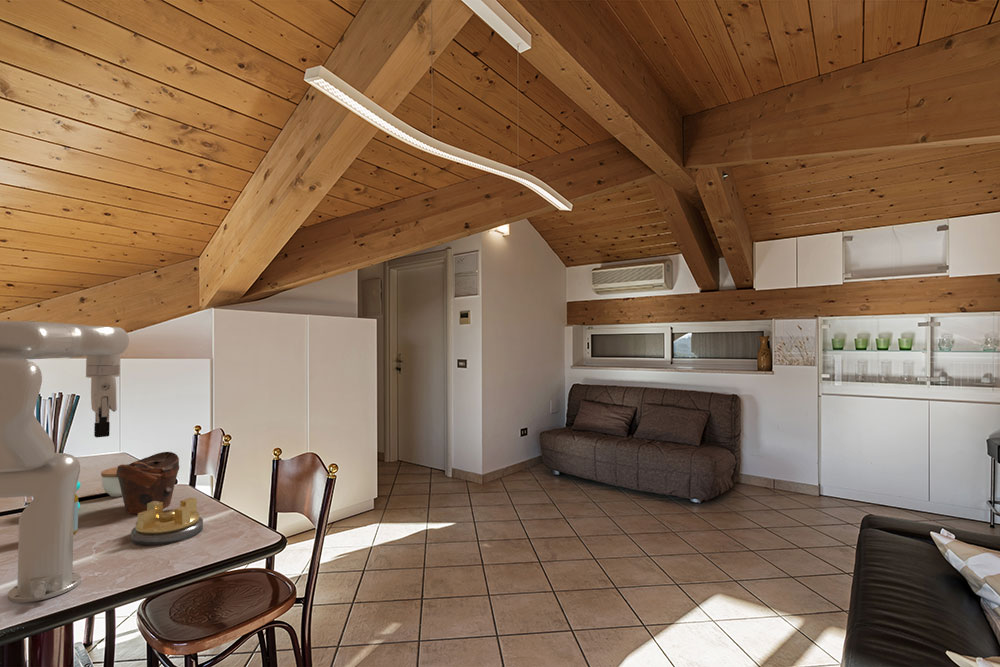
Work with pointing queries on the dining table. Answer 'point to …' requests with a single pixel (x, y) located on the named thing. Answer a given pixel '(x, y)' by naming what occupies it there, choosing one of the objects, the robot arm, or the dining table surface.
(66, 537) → the robot arm
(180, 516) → the gold crown turntable
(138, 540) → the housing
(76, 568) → the dining table surface
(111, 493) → the lidded bowl
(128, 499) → the brown chunky piece
